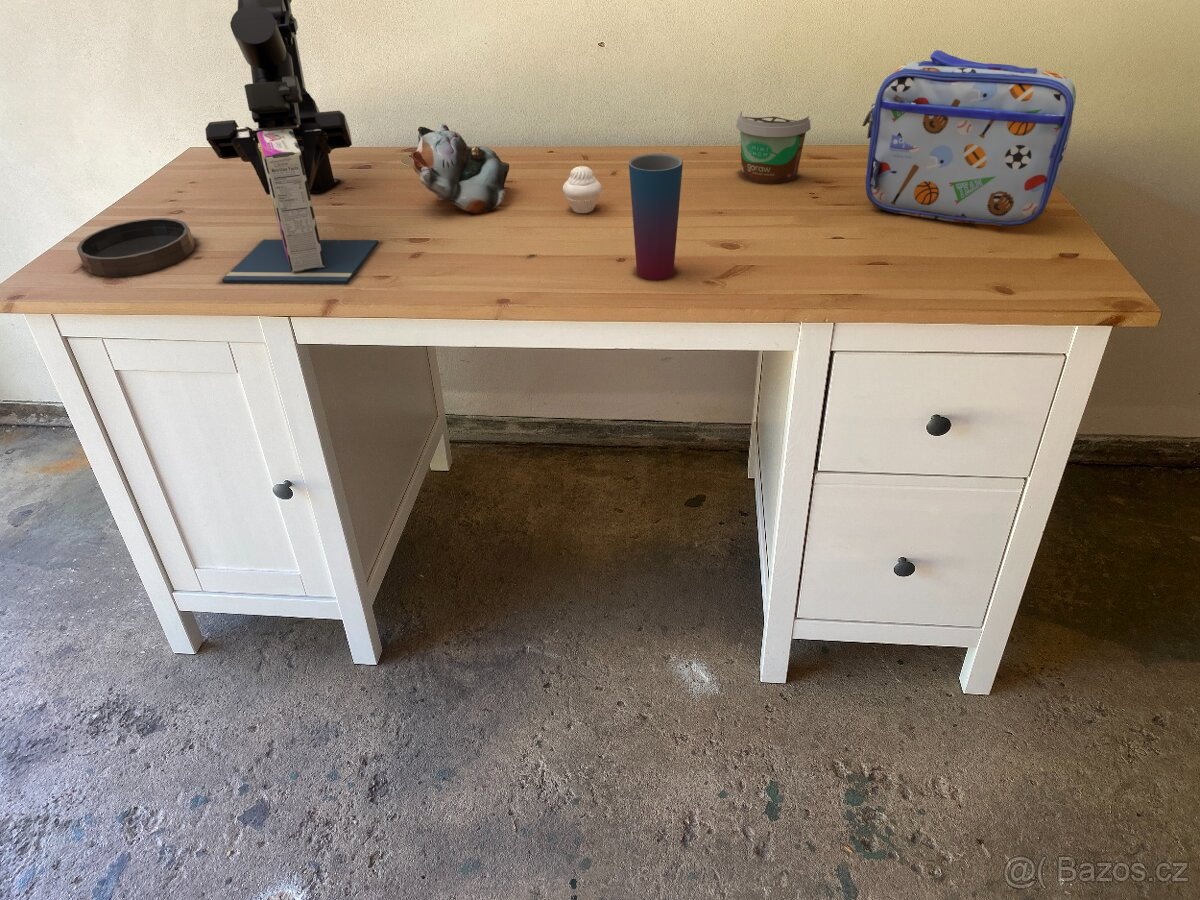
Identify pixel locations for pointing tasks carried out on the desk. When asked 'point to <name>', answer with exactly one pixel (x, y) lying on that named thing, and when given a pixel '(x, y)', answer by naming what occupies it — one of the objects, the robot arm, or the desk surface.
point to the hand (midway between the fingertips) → (287, 191)
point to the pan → (136, 247)
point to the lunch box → (968, 140)
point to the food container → (771, 147)
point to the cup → (655, 212)
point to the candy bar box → (291, 199)
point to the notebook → (274, 268)
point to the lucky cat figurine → (459, 170)
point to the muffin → (582, 190)
